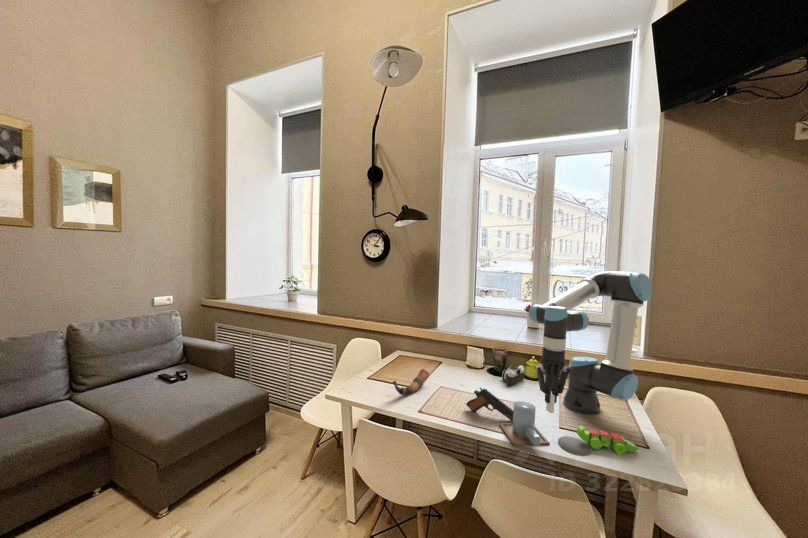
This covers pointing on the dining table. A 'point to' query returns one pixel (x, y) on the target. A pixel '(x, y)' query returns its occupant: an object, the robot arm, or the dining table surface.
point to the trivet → (574, 445)
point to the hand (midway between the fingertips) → (549, 411)
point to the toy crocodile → (606, 440)
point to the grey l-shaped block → (525, 421)
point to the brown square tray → (520, 441)
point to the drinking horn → (413, 383)
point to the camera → (513, 375)
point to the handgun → (487, 398)
